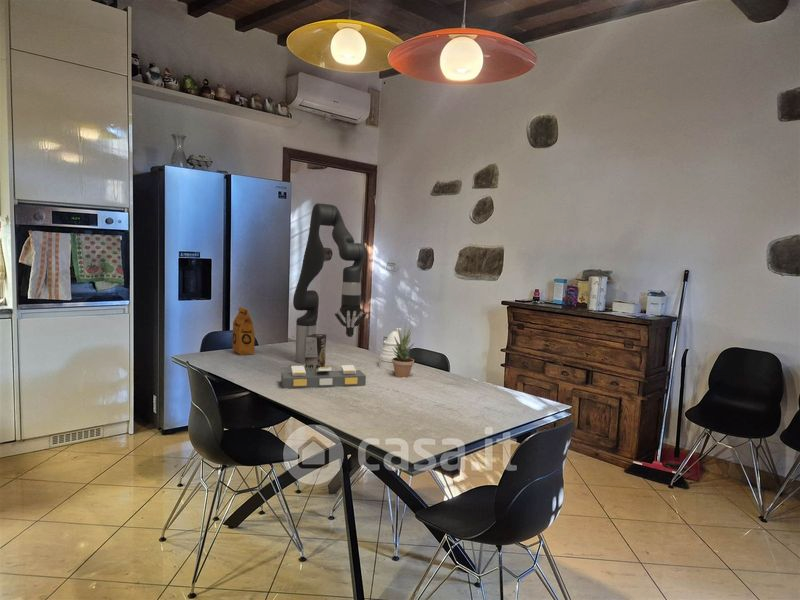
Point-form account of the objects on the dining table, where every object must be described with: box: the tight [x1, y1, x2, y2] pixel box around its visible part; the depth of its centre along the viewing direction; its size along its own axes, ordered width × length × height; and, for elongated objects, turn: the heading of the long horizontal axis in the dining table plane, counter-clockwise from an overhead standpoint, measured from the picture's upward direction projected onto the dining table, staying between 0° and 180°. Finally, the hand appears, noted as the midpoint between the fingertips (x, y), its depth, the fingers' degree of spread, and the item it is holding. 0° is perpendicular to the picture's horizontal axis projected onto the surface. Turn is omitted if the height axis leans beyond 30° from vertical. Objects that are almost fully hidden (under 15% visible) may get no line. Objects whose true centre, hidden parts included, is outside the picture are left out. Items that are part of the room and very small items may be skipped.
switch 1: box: [290, 365, 306, 376], centre depth 220 cm, size 6×5×1 cm
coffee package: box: [231, 306, 256, 356], centre depth 274 cm, size 10×12×22 cm
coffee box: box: [304, 333, 327, 372], centre depth 242 cm, size 9×6×16 cm
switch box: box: [280, 369, 367, 389], centre depth 223 cm, size 11×32×4 cm, turn 108°
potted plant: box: [392, 322, 415, 378], centre depth 242 cm, size 10×10×25 cm
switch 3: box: [340, 364, 357, 374], centre depth 226 cm, size 6×5×1 cm
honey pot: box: [378, 327, 408, 371], centre depth 259 cm, size 13×13×18 cm
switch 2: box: [316, 366, 332, 373], centre depth 223 cm, size 6×5×1 cm
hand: (349, 336), depth 225 cm, fingers closed
